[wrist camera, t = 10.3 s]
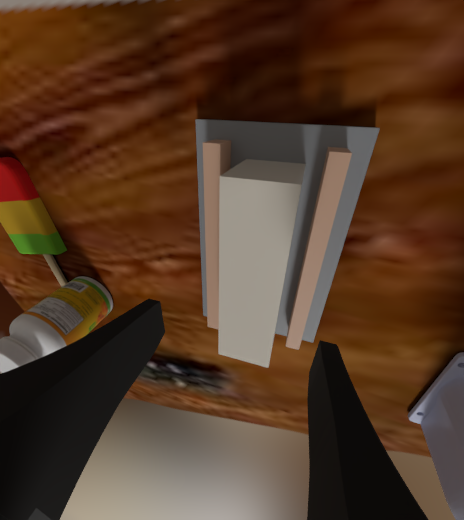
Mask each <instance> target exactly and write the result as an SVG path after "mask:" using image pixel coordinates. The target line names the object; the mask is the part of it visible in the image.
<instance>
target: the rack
mask: <svg viewBox="0 0 464 520" xmlns="http://www.w3.org/2000/svg"><path fill="white" fill-rule="evenodd" d="M379 129H380V128H376V127H357V126H336V125H315V124H294V123H274V122H253V121H232V120H211V119H196V143H197V168H198V193H199V218H200V243H201V268H202V293H203V316H207V317H208V327H211V328H215V329H219V190H220V176H221V175H222V174H224V173H225V172H227V171H229V170H230V169H232V168H233V167H235V166H236V165H238V164H239V163H241V162H243V161H244V160H246V159H253V160H265V161H276V162H288V163H300V164H306V165H305V171H304V176H303V182H302V187H301V193H300V198H299V204H298V209H297V215H296V220H295V226H294V231H293V237H292V242H291V248H290V253H289V259H288V264H287V270H286V275H285V281H284V286H283V292H282V297H281V303H280V308H279V314H278V319H277V324H276V330H275V333H276V334H280V335H284V336H287V340H286V347H290V348H293V349H297V350H299V347H300V343H301V340H305V341H309V342H313V341H314V338H315V335H316V331H317V328H318V325H319V322H320V318H321V315H322V312H323V309H324V306H325V302H326V299H327V296H328V293H329V290H330V286H331V283H332V280H333V277H334V274H335V270H336V267H337V264H338V261H339V258H340V254H341V251H342V248H343V245H344V241H345V238H346V235H347V232H348V229H349V225H350V222H351V219H352V216H353V213H354V209H355V206H356V203H357V200H358V197H359V193H360V190H361V187H362V184H363V181H364V177H365V174H366V171H367V168H368V165H369V161H370V158H371V155H372V152H373V148H374V145H375V142H376V139H377V136H378V132H379Z"/></svg>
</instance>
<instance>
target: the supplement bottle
mask: <svg viewBox="0 0 464 520" xmlns="http://www.w3.org/2000/svg"><path fill="white" fill-rule="evenodd" d="M112 308H113V301H112V297H111V295H110V293H109V292H108V291H107V289H106V288H105V287H104V286H103V285H102V284H100V283H99V282H97V281H96V280H94V279H92V278H89V277H85V276H80V277H76V278H74V279H73V280H71V281H70V282H68V283H67V284H65V285H64V286H62V287H61V288H59V289H58V290H57V291H55V292H54V293H52V294H51V295H49V296H48V297H46V298H45V299H43V300H42V301H40V302H39V303H37V304H36V305H34V306H33V307H31V308H30V309H29V310H27V311H26V312H24V313H23V314H21V315H20V316H18V317H17V318H16V319H15V320H13V322H12V323H11V325H10V329H9V331H10V336H9V337H3V338H2V339H0V371H1V372H2V373H4V372H7V371H10V370H12V369H15V368H17V367H20V366H22V365H24V364H27V363H29V362H32V361H34V360H37V359H39V358H41V357H44V356H46V355H48V354H50V353H53V352H55V351H57V350H59V349H61V348H63V347H65V346H67V345H69V344H71V343H73V342H75V341H77V340H79V339H81V338H83V337H84V336H86V335H87V334H88V333H89V332H90V331H91V330H92V329H93V328H94V327H95V326H96V325H97V324H98V323H99V322H100V321H101V320H102V319H103V318H104V317H105V316H107V314H108V313H109V312H110V311H111V310H112Z"/></svg>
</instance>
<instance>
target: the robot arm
mask: <svg viewBox="0 0 464 520" xmlns="http://www.w3.org/2000/svg"><path fill="white" fill-rule="evenodd" d="M164 333H165V329H164V323H163V317H162V310H161V304H160V301H156V300H152V299H147V300H146V301H144V302H142V303H141V304H139V305H137V306H136V307H134V308H132V309H131V310H129V311H128V312H126V313H124V314H123V315H121V316H119V317H118V318H116V319H114V320H113V321H111V322H109V323H108V324H106V325H104V326H103V327H101V328H99V329H97V330H95V331H94V332H92V333H90V334H88V335H86V336H84V337H83V338H81V339H79V340H77V341H75V342H73V343H71V344H69V345H67V346H65V347H63V348H61V349H59V350H57V351H55V352H53V353H50V354H48V355H46V356H44V357H41V358H39V359H37V360H34V361H32V362H29V363H27V364H24V365H22V366H20V367H17V368H15V369H12V370H10V371H7V372H4V373H2V374H0V520H60V517H61V515H62V513H63V511H64V509H65V507H66V504H67V502H68V500H69V498H70V496H71V494H72V492H73V489H74V488H75V485H76V483H77V481H78V479H79V477H80V475H81V473H82V471H83V469H84V467H85V465H86V463H87V461H88V459H89V458H90V456H91V454H92V452H93V450H94V448H95V446H96V444H97V442H98V441H99V439H100V437H101V435H102V433H103V431H104V429H105V428H106V426H107V424H108V422H109V420H110V419H111V417H112V415H113V413H114V412H115V410H116V408H117V407H118V405H119V403H120V402H121V400H122V399H123V397H124V396H125V394H126V393H127V391H128V390H129V388H130V387H131V386H132V384H133V383H134V381H135V380H136V378H137V377H138V375H139V374H140V373H141V371H142V370H143V368H144V367H145V365H146V364H147V362H148V361H149V360H150V358H151V357H152V355H153V354H154V352H155V350H156V348H157V347H158V345H159V343H160V341H161V339H162V337H163V335H164ZM408 417H409V420H410V421H412V422H415V423H418V424H421V427H422V430H423V433H424V436H425V439H426V442H427V445H428V448H429V451H430V454H431V456H432V459H433V462H434V465H435V468H436V471H437V474H438V477H439V480H440V483H441V486H442V489H443V492H444V495H445V498H446V501H447V503H448V505H449V507H450V510H451V512H452V513H453V515H454V517H455V519H456V520H464V352H462V353H458V354H457V355H455V357H454V358H453V359H452V360H451V362H450V363H449V364H448V365H447V366H446V368H445V369H444V370H443V371H442V373H441V374H440V375H439V376H438V378H437V379H436V380H435V381H434V383H433V384H432V385H431V386H430V388H429V389H428V390H427V391H426V393H425V394H424V395H423V396H422V397H421V399H420V400H419V401H418V402H417V404H416V405H415V406H414V407H413V409H412V410H411V411H410V412H409V414H408ZM308 427H309V458H310V478H309V498H308V500H309V501H308V517H307V520H428V518H427V517H426V515H425V514H424V512H423V511H422V509H421V508H420V506H419V505H418V503H417V502H416V500H415V499H414V497H413V495H412V494H411V492H410V490H409V489H408V487H407V486H406V484H405V482H404V481H403V479H402V477H401V476H400V474H399V473H398V471H397V469H396V467H395V466H394V464H393V462H392V460H391V459H390V457H389V456H388V454H387V452H386V450H385V448H384V446H383V445H382V443H381V441H380V439H379V437H378V435H377V434H376V432H375V430H374V428H373V426H372V424H371V422H370V420H369V418H368V416H367V414H366V412H365V410H364V408H363V406H362V404H361V402H360V399H359V397H358V395H357V393H356V391H355V389H354V386H353V384H352V382H351V379H350V377H349V375H348V372H347V370H346V367H345V365H344V362H343V360H342V357H341V354H340V351H339V348H338V346H337V345H336V344H332V343H328V342H324V341H320V342H319V345H318V348H317V351H316V354H315V357H314V360H313V363H312V366H311V369H310V373H309V385H308Z"/></svg>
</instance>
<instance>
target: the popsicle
mask: <svg viewBox="0 0 464 520" xmlns="http://www.w3.org/2000/svg"><path fill="white" fill-rule="evenodd" d="M0 222H1V224H2V225H3V227H4V229H5V230H6V232H7V233H8V235H9V237H10V238H11V240H12V241H13V243H14V245H15V246H16V248H17V249H18V251H19V252H20V253H22V254H43V255H44V257H45V259H46V261H47V262H48V264H49V266H50V268H51V269H52V271H53V273H54V274H55V276H56V278H57V280H58V281H59V283H60V285H61V287H62V286H64V285H65V284H67V283H68V282H67V280H66V279H65V277H64V275H63V273H62V272H61V270H60V268H59V266H58V264H57V263H56V261H55V259H54V257H53V255H52V254H54V255H57V254H61V253H63V252H65V251H67V249H66V247H65V245H64V243H63V241H62V239H61V237H60V235H59V233H58V231H57V229H56V227H55V225H54V224H53V222H52V220H51V218H50V216H49V214H48V212H47V210H46V208H45V206H44V204H43V202H42V200H41V198H40V197H39V195H38V193H37V191H36V189H35V187H34V185H33V183H32V181H31V179H30V177H29V175H28V173H27V172H26V170H25V168H24V167H23V166H22V164H21V163H20V162H19V161H18V160H16V159H15V158H12V157H2V158H0Z"/></svg>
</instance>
